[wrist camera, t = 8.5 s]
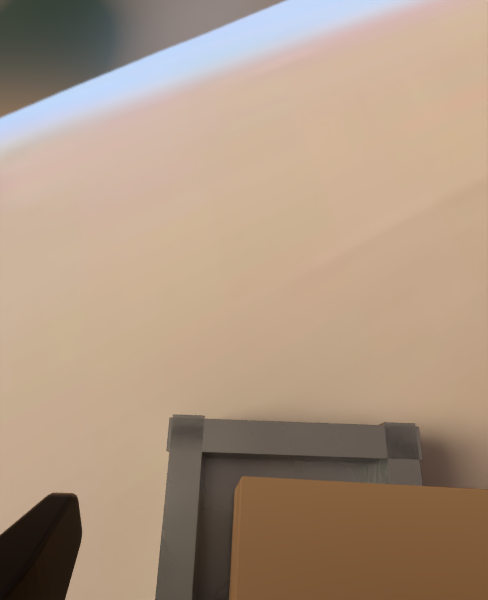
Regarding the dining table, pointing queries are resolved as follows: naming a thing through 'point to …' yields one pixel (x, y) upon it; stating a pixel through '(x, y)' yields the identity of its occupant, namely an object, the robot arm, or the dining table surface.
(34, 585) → the robot arm
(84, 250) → the dining table surface
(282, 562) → the tall brown wooden block
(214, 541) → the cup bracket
